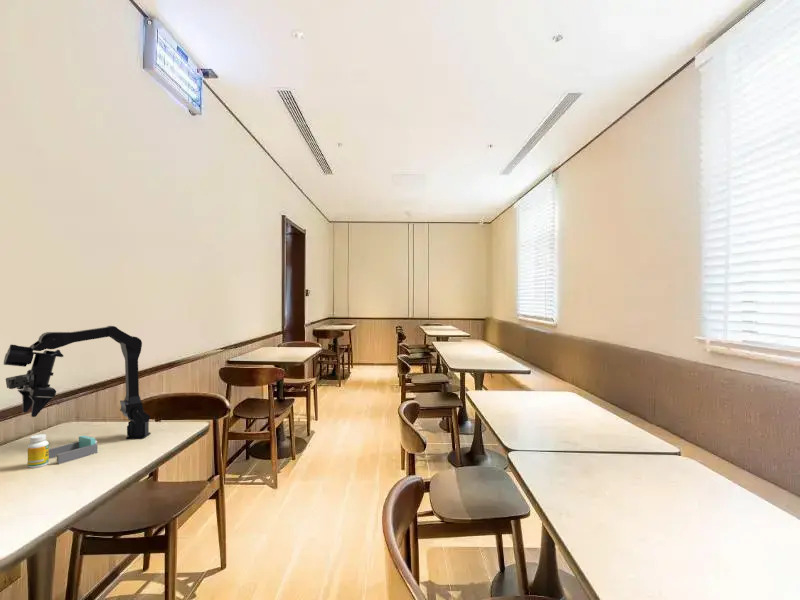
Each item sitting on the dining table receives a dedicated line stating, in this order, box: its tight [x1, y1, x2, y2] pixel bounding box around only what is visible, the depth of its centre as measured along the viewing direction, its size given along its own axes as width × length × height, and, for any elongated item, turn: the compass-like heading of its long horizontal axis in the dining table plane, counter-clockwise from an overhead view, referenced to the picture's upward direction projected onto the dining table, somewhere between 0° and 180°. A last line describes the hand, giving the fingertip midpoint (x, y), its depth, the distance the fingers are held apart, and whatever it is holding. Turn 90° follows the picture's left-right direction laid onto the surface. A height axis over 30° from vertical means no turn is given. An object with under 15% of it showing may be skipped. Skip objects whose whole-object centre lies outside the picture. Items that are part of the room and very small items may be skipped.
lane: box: [49, 435, 98, 465], centre depth 153 cm, size 14×10×5 cm
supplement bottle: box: [27, 433, 50, 469], centre depth 144 cm, size 5×5×10 cm
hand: (29, 414), depth 149 cm, fingers open, 9 cm apart
